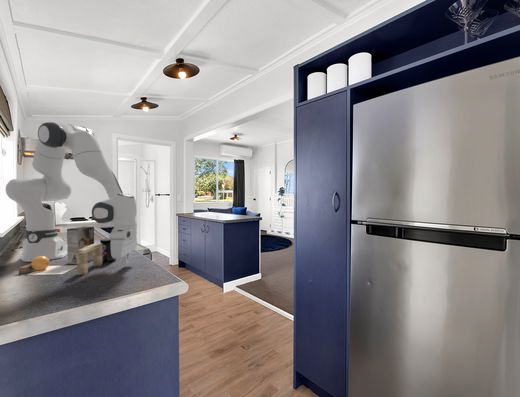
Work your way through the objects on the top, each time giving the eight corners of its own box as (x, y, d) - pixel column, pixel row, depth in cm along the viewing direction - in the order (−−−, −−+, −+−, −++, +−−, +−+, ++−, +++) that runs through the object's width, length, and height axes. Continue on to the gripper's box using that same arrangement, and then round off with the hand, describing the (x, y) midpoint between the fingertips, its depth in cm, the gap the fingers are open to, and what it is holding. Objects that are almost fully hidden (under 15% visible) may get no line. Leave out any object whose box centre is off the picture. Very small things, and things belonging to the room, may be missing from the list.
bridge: (77, 274, 108) (77, 250, 108) (95, 264, 123) (95, 243, 123) (85, 274, 109) (85, 250, 108) (102, 264, 123) (102, 243, 123)
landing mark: (47, 266, 120) (47, 265, 120) (79, 265, 121) (79, 265, 121) (26, 275, 107) (26, 274, 107) (62, 274, 108) (62, 273, 108)
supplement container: (103, 259, 132) (102, 238, 132) (118, 259, 134) (118, 237, 134) (97, 263, 126) (97, 240, 126) (113, 262, 127) (113, 240, 127)
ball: (34, 264, 116) (42, 251, 116) (48, 270, 117) (55, 258, 117) (24, 268, 110) (32, 255, 110) (38, 275, 111) (46, 262, 111)
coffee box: (83, 259, 134) (83, 226, 133) (94, 259, 132) (94, 226, 132) (66, 263, 125) (66, 228, 124) (78, 264, 123) (78, 229, 123)
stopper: (37, 266, 119) (37, 260, 119) (42, 266, 119) (42, 260, 119) (18, 274, 108) (18, 267, 108) (24, 274, 109) (24, 267, 108)
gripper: (126, 228, 127) (126, 257, 127) (107, 235, 107) (107, 270, 107) (140, 228, 128) (140, 257, 128) (124, 235, 108) (124, 270, 108)
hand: (125, 263), depth 118 cm, fingers closed
